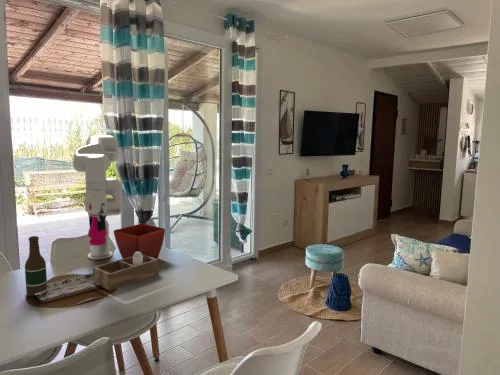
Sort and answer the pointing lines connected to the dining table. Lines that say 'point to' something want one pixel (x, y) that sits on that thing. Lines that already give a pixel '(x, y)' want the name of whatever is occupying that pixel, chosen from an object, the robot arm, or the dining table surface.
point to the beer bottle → (35, 269)
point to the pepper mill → (96, 232)
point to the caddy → (124, 272)
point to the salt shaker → (137, 258)
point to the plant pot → (139, 240)
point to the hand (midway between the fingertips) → (97, 228)
